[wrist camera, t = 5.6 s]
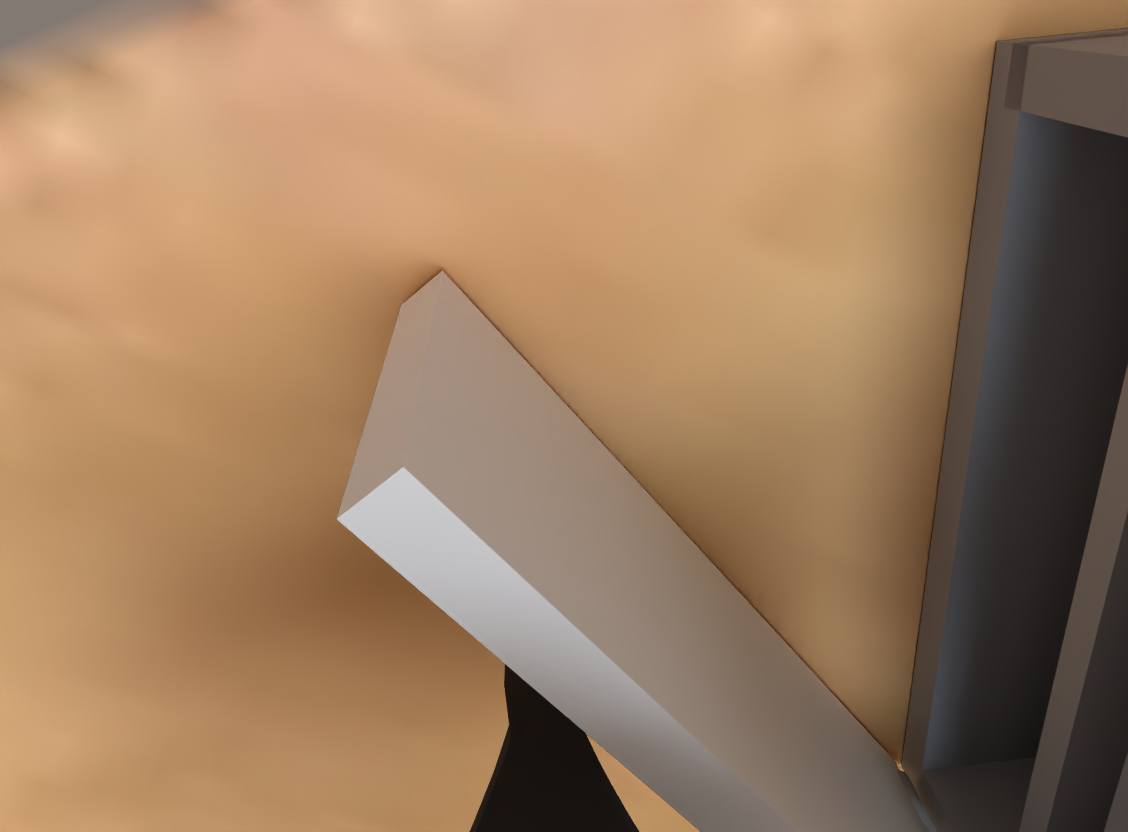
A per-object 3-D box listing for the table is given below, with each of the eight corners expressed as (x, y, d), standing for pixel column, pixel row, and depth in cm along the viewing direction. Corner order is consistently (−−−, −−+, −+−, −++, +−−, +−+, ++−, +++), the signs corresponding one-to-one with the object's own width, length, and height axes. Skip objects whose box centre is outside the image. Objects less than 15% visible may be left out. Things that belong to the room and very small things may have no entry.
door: (832, 814, 18) (958, 1128, 13) (352, 346, 13) (256, 580, 8) (910, 770, 18) (1071, 1079, 13) (448, 265, 12) (411, 459, 7)
